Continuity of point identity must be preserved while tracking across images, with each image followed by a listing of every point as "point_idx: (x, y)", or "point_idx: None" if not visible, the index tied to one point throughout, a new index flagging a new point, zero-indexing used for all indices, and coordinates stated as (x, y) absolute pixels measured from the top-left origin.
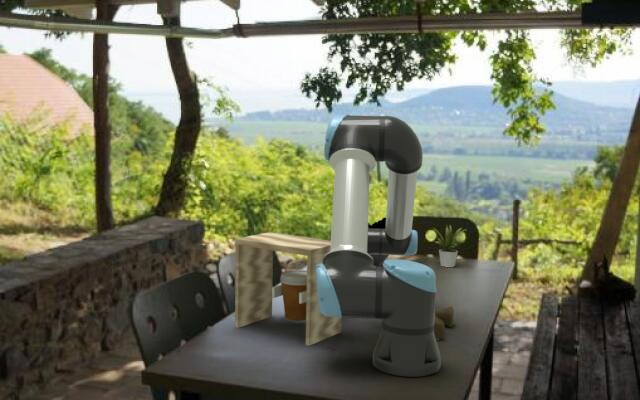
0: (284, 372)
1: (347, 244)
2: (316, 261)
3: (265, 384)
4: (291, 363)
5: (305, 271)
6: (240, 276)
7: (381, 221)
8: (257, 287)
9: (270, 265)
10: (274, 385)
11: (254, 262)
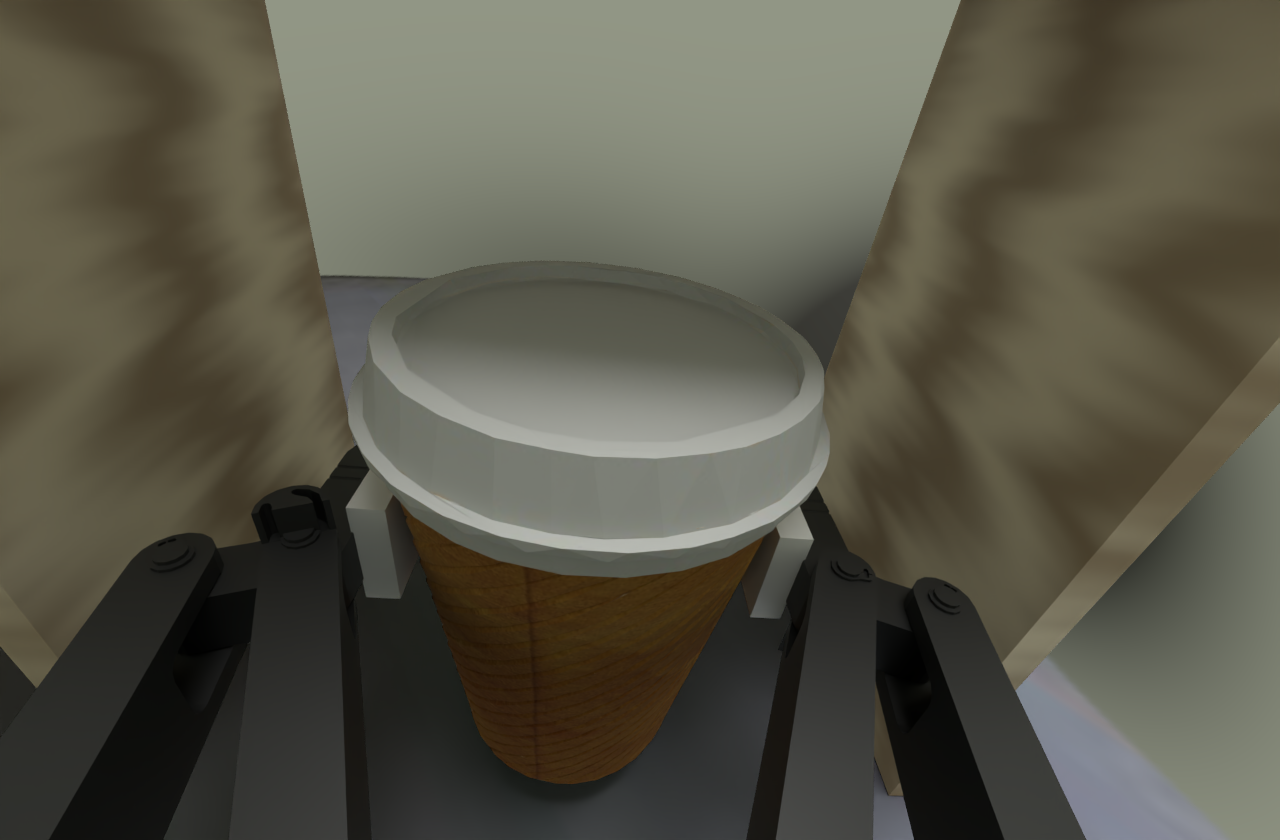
0: (355, 320)
1: None
2: None
3: (378, 285)
4: (355, 353)
5: (623, 447)
6: (878, 260)
7: None
8: (915, 447)
9: (1161, 396)
10: (353, 285)
11: (996, 214)
